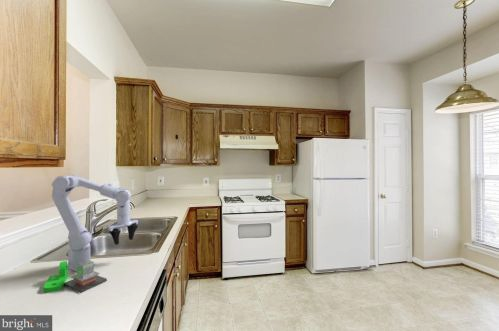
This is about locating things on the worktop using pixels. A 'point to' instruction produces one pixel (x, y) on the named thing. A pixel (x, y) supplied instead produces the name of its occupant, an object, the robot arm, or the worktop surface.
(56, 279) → the mechanical part
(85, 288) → the dark grey rectangular tray
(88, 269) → the green-striped metal cube
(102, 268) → the worktop surface
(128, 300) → the worktop surface
